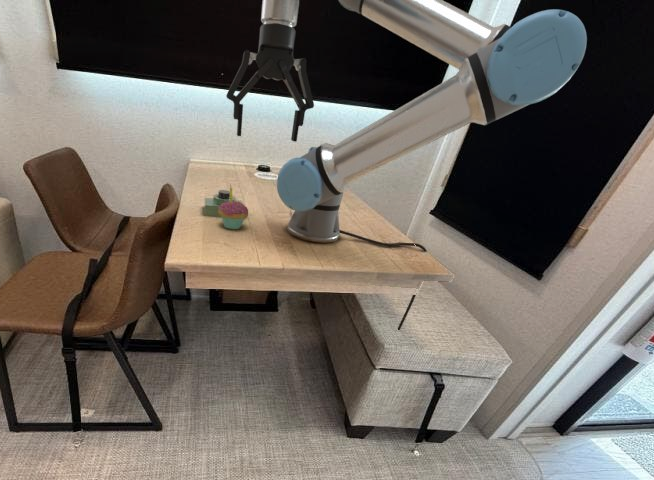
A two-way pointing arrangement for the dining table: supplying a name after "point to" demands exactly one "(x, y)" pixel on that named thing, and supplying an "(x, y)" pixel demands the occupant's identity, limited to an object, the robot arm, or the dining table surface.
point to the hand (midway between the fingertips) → (266, 138)
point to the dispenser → (215, 205)
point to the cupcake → (232, 213)
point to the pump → (224, 194)
